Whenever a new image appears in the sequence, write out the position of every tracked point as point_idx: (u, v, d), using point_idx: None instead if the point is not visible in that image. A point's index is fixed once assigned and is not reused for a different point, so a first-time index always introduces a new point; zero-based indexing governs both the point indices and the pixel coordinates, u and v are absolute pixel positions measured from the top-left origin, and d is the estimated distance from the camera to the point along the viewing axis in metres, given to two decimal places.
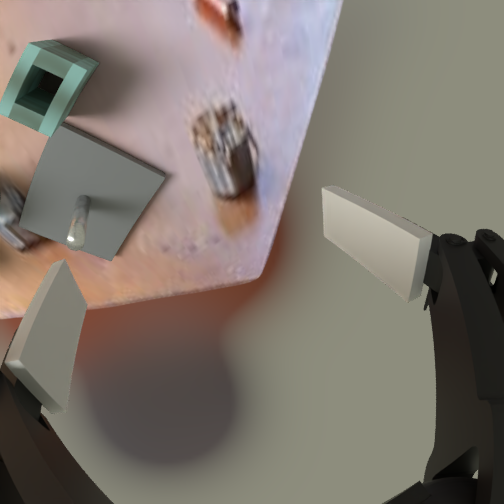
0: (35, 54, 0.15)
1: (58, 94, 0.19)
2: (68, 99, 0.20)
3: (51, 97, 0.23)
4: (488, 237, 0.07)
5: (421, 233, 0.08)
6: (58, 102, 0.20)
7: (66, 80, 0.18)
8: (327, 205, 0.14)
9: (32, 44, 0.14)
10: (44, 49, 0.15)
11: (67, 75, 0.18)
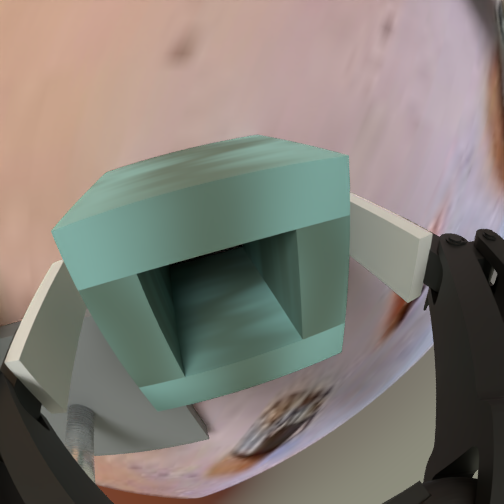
0: (327, 213, 0.08)
1: (260, 360, 0.10)
2: (264, 380, 0.10)
3: None
4: (488, 237, 0.07)
5: (421, 233, 0.08)
6: (244, 372, 0.10)
7: (303, 344, 0.10)
8: None
9: None
10: None
11: (314, 337, 0.10)
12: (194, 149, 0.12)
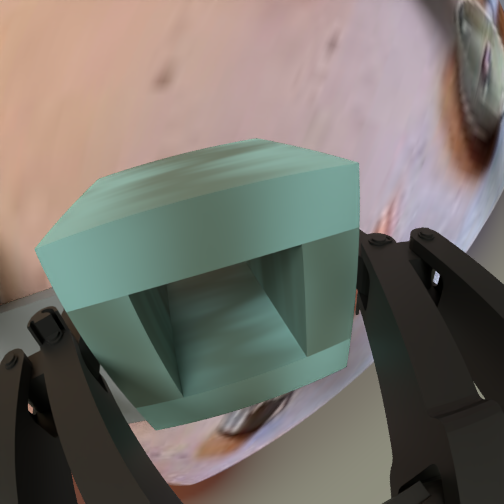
0: (336, 226, 0.07)
1: (263, 379, 0.09)
2: (266, 398, 0.10)
3: None
4: (425, 237, 0.08)
5: None
6: (245, 391, 0.09)
7: (307, 361, 0.09)
8: None
9: None
10: None
11: (318, 354, 0.09)
12: (190, 154, 0.12)
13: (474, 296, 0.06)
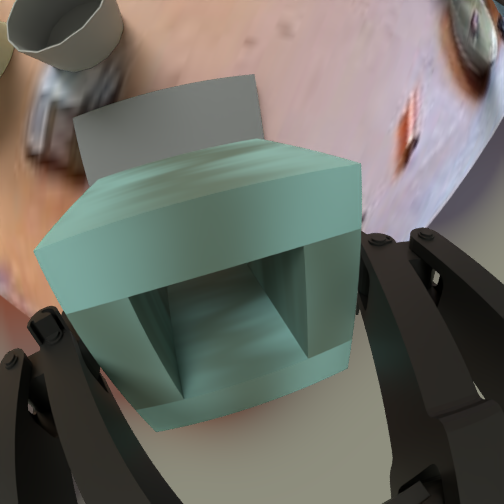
0: (338, 227, 0.07)
1: (264, 381, 0.09)
2: (267, 399, 0.10)
3: None
4: (425, 237, 0.08)
5: None
6: (246, 394, 0.09)
7: (308, 363, 0.09)
8: None
9: None
10: None
11: (320, 356, 0.09)
12: (190, 154, 0.12)
13: (474, 296, 0.06)
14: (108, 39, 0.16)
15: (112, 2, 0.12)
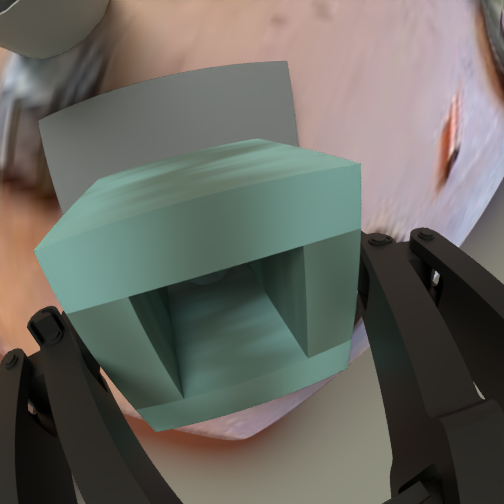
0: (337, 227, 0.07)
1: (263, 380, 0.09)
2: (267, 399, 0.10)
3: None
4: (425, 237, 0.08)
5: None
6: (245, 393, 0.09)
7: (308, 363, 0.09)
8: None
9: None
10: None
11: (319, 355, 0.09)
12: (190, 154, 0.12)
13: (474, 295, 0.06)
14: (86, 9, 0.09)
15: None
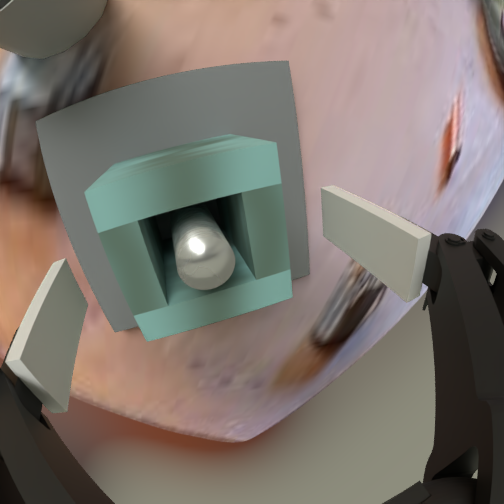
0: (263, 181, 0.12)
1: (224, 295, 0.13)
2: (229, 315, 0.14)
3: (156, 228, 0.18)
4: (487, 237, 0.07)
5: (420, 233, 0.08)
6: (212, 306, 0.14)
7: (257, 284, 0.14)
8: (326, 205, 0.14)
9: None
10: None
11: (265, 279, 0.14)
12: (181, 146, 0.16)
13: None
14: (84, 8, 0.09)
15: None
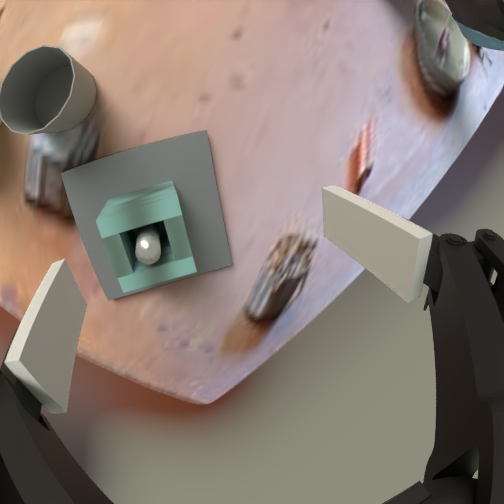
0: (173, 214, 0.25)
1: (160, 268, 0.27)
2: (163, 279, 0.27)
3: (132, 235, 0.31)
4: (488, 237, 0.07)
5: (421, 233, 0.08)
6: (154, 274, 0.27)
7: (176, 263, 0.27)
8: (327, 205, 0.14)
9: (178, 201, 0.25)
10: (182, 217, 0.26)
11: (180, 261, 0.27)
12: (143, 190, 0.30)
13: None
14: (83, 108, 0.23)
15: (81, 83, 0.19)
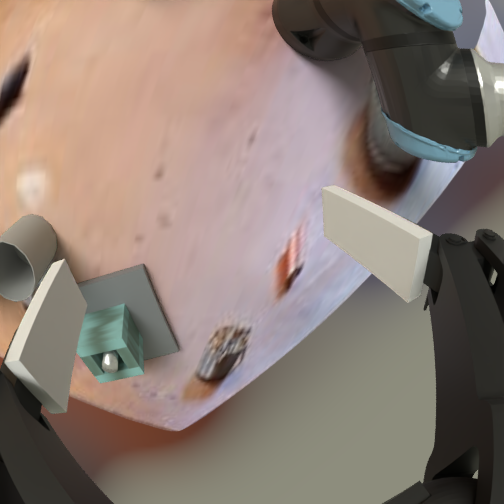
0: (121, 346, 0.34)
1: (120, 372, 0.36)
2: (123, 377, 0.37)
3: None
4: (488, 237, 0.07)
5: (421, 233, 0.08)
6: (117, 374, 0.36)
7: (129, 370, 0.36)
8: (326, 205, 0.14)
9: (123, 339, 0.34)
10: (128, 347, 0.35)
11: (132, 368, 0.36)
12: (105, 312, 0.39)
13: None
14: (48, 262, 0.32)
15: (40, 260, 0.28)
